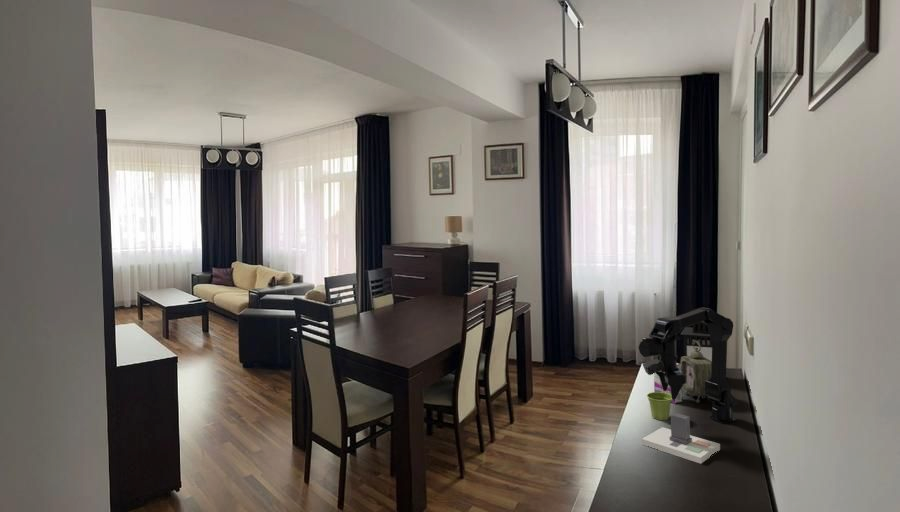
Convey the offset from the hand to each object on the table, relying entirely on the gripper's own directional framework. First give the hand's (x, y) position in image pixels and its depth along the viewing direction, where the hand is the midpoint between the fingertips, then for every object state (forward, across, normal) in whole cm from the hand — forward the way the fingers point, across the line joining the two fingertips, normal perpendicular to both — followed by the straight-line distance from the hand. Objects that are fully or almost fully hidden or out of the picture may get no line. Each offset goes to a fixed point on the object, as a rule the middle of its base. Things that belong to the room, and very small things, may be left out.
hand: (669, 394), depth 181 cm
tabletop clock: (+14, -33, +23) cm, 43 cm away
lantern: (+15, -58, +36) cm, 70 cm away
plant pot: (+14, -13, 0) cm, 19 cm away
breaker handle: (+11, +13, -1) cm, 17 cm away
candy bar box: (+14, -33, +10) cm, 38 cm away
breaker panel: (+13, +13, -2) cm, 19 cm away
